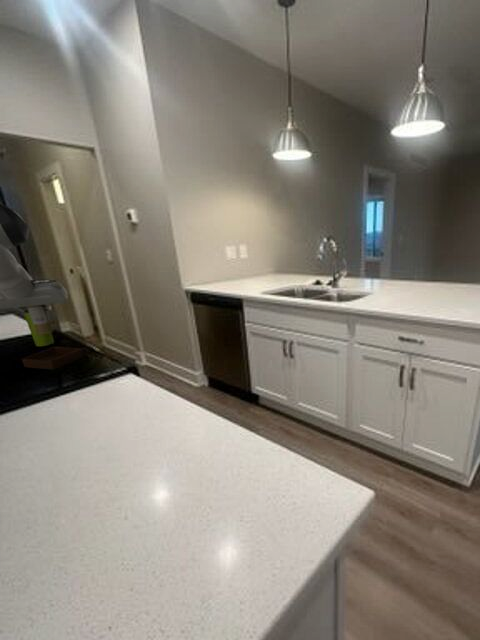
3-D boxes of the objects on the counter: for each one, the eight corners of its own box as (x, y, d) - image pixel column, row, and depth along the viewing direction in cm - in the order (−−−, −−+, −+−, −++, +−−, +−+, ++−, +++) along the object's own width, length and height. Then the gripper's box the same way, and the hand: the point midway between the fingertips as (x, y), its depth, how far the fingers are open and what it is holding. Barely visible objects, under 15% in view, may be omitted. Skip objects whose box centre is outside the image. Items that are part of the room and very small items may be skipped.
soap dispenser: (36, 348, 125) (16, 293, 117) (35, 344, 130) (15, 291, 122) (55, 344, 128) (37, 290, 121) (53, 340, 133) (35, 288, 126)
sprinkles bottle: (56, 329, 110) (41, 287, 105) (50, 333, 106) (35, 290, 101) (40, 331, 109) (24, 289, 104) (33, 335, 105) (17, 292, 100)
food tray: (24, 367, 108) (21, 359, 107) (56, 354, 118) (54, 346, 117) (54, 369, 105) (51, 361, 104) (84, 356, 115) (82, 348, 114)
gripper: (56, 269, 97) (75, 297, 110) (-32, 277, 92) (-1, 305, 104) (56, 287, 95) (76, 314, 107) (-34, 296, 89) (-2, 323, 102)
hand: (37, 310), depth 106 cm, fingers closed on sprinkles bottle, 4 cm apart
